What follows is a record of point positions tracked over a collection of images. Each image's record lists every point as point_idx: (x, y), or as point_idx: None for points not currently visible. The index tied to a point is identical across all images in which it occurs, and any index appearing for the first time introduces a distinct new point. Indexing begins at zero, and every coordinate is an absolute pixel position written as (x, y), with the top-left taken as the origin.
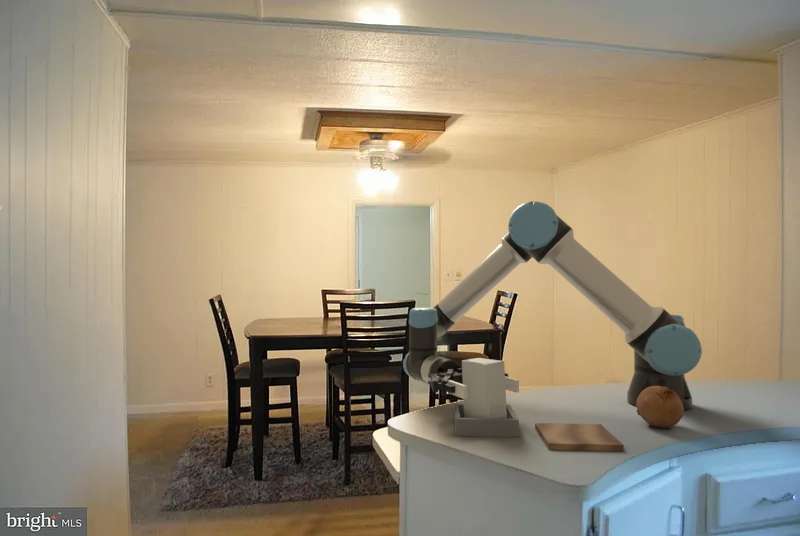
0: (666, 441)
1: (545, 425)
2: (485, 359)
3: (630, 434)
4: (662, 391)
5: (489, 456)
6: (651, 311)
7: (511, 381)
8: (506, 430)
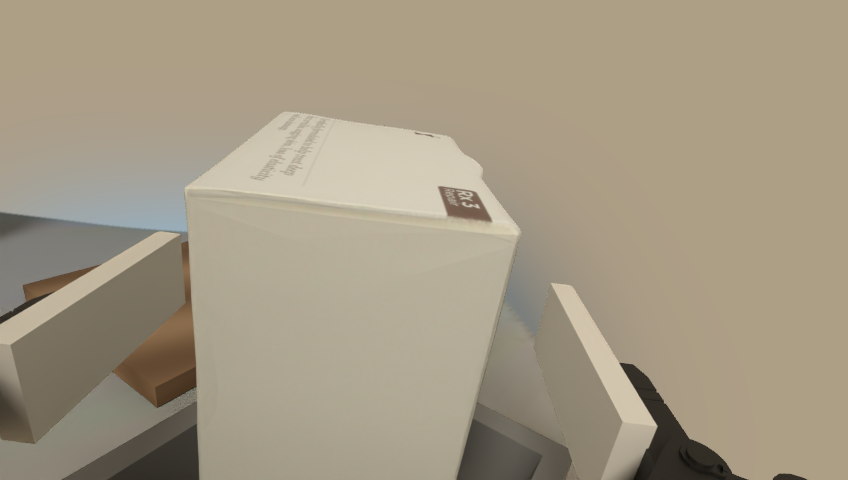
0: (76, 227)
1: (170, 353)
2: (319, 144)
3: (45, 262)
4: None
5: (520, 338)
6: None
7: (152, 269)
8: None
